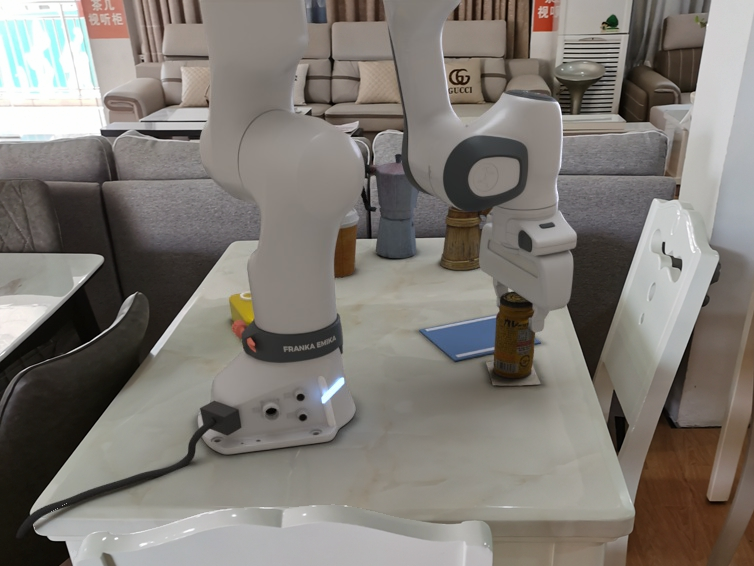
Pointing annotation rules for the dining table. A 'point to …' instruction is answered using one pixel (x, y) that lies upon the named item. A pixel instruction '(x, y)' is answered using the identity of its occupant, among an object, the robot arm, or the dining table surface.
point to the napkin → (465, 338)
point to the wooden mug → (462, 239)
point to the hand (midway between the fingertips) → (519, 318)
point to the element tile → (241, 307)
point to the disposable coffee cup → (346, 245)
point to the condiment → (513, 343)
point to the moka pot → (393, 209)
